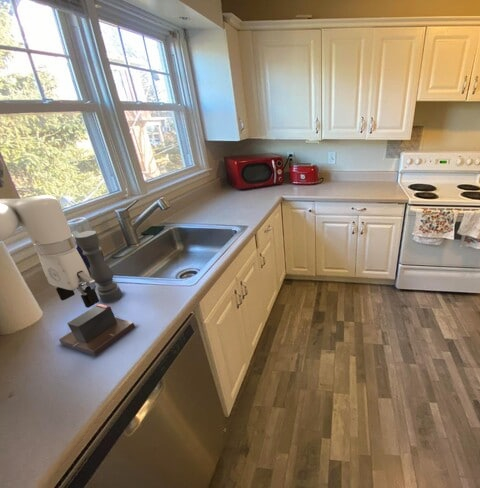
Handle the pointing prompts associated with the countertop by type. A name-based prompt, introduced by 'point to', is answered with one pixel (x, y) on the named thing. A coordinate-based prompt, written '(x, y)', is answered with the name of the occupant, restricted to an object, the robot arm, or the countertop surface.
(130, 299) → the countertop surface
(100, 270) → the candle holder
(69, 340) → the stand
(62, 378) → the countertop surface
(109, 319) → the clock
